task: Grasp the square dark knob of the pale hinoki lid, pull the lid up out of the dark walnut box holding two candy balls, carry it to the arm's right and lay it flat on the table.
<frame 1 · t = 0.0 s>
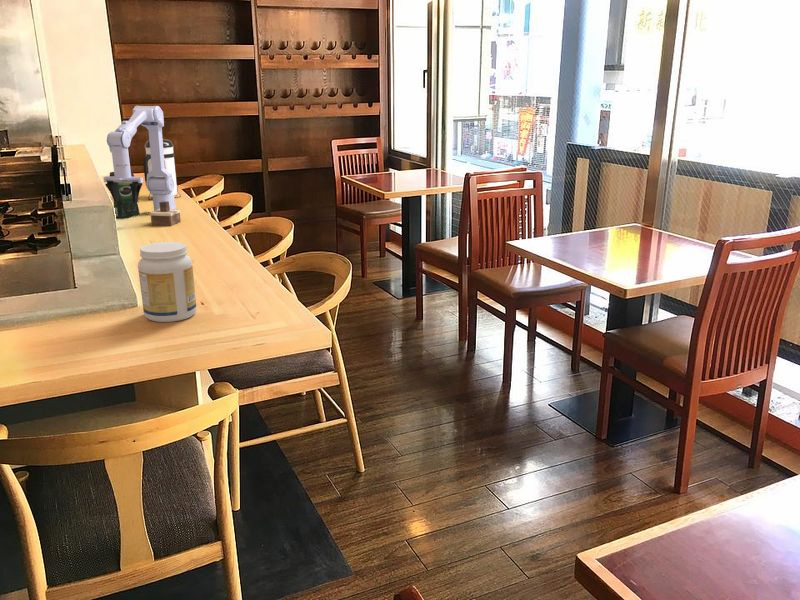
hand: (126, 201, 253), 10 cm above the counter, tool pointing down, fingers open, 7 cm apart
lid: (165, 213, 260), point 4 cm above the counter, touching box
amber ball: (168, 222, 263), point 1 cm above the counter, touching box
sage ball: (164, 224, 260), point 1 cm above the counter, touching box
box: (166, 225, 262), on the counter
coffee press: (163, 199, 319), on the counter
coffee jar: (127, 216, 278), on the counter
supplement tub: (171, 315, 163), on the counter
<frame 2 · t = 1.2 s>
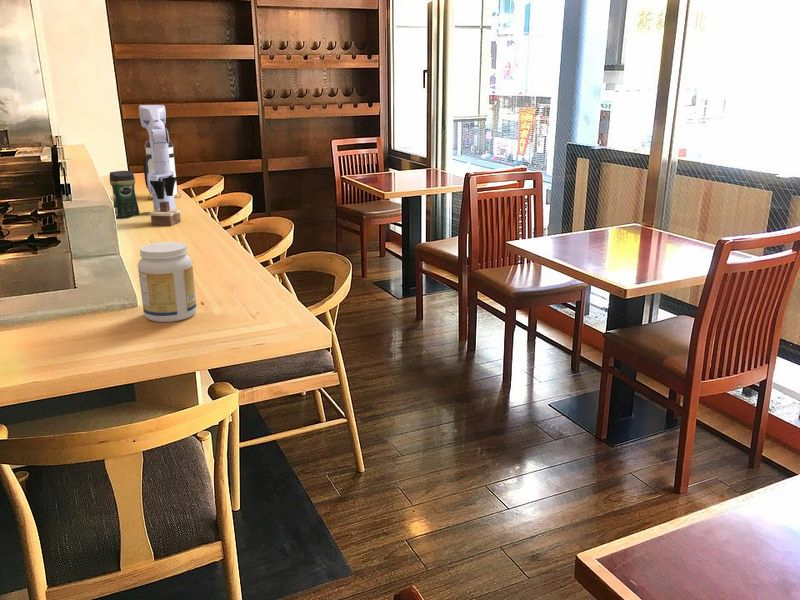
hand: (165, 197, 260), 11 cm above the counter, tool pointing down, fingers open, 7 cm apart
nothing on the counter moved.
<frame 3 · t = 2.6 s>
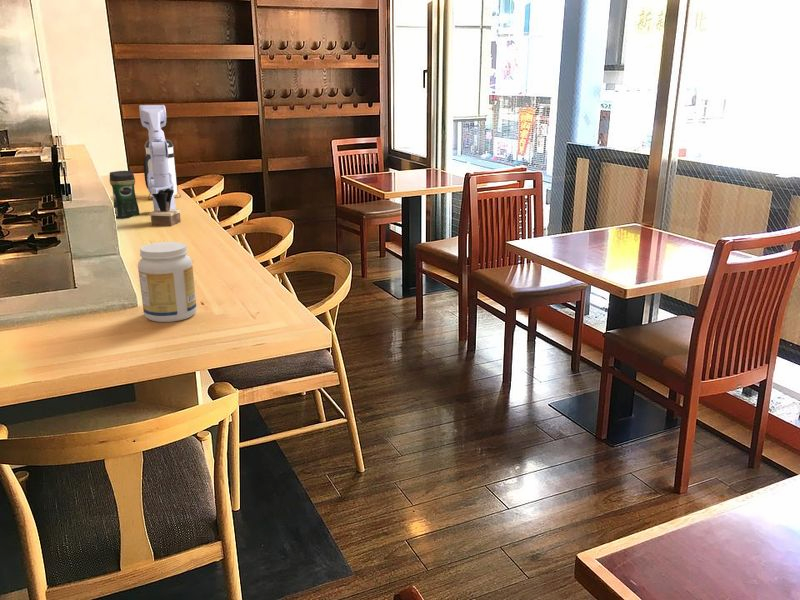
hand: (165, 209, 260), 6 cm above the counter, tool pointing down, fingers closed on lid, 3 cm apart
lid: (165, 213, 260), point 4 cm above the counter, touching box, gripper
everything else where it was.
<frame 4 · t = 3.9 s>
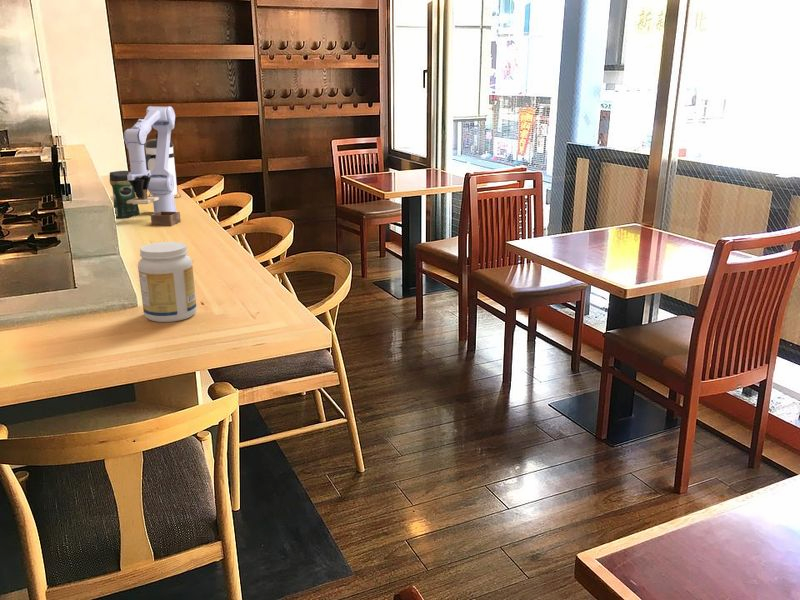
hand: (141, 196, 263), 10 cm above the counter, tool pointing down, fingers closed on lid, 3 cm apart
lid: (143, 201, 263), point 8 cm above the counter, touching gripper
everything else where it was.
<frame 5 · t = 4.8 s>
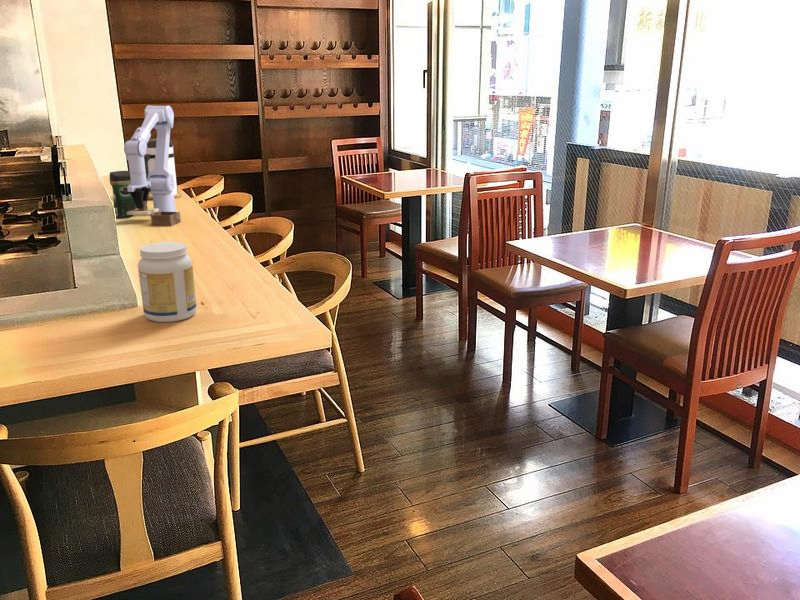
hand: (141, 207, 264), 6 cm above the counter, tool pointing down, fingers closed on lid, 3 cm apart
lid: (143, 212, 265), point 4 cm above the counter, touching gripper
everything else where it was.
when the fingers open (4 cm above the counter, at t = 5.5 s): lid drops 1 cm, on the counter.
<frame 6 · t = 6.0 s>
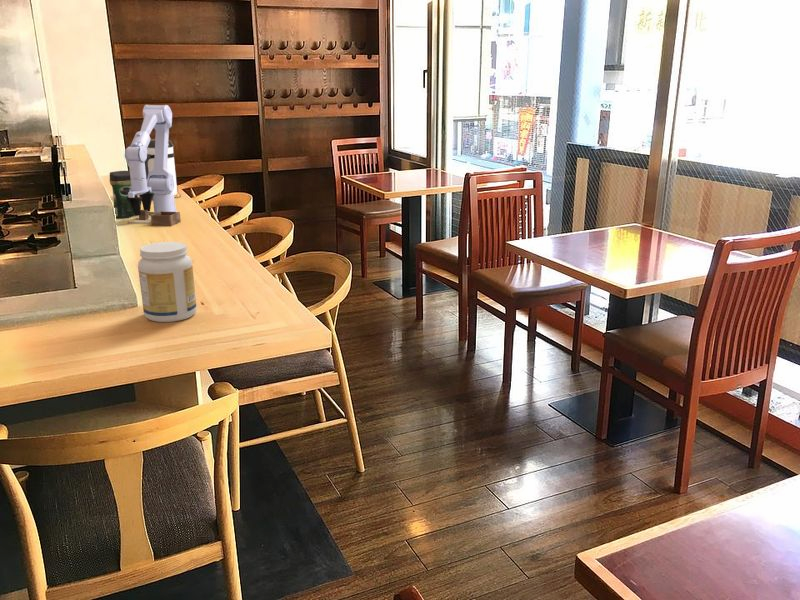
hand: (142, 213, 265), 4 cm above the counter, tool pointing down, fingers open, 7 cm apart
lid: (144, 221, 266), on the counter
everything else where it was.
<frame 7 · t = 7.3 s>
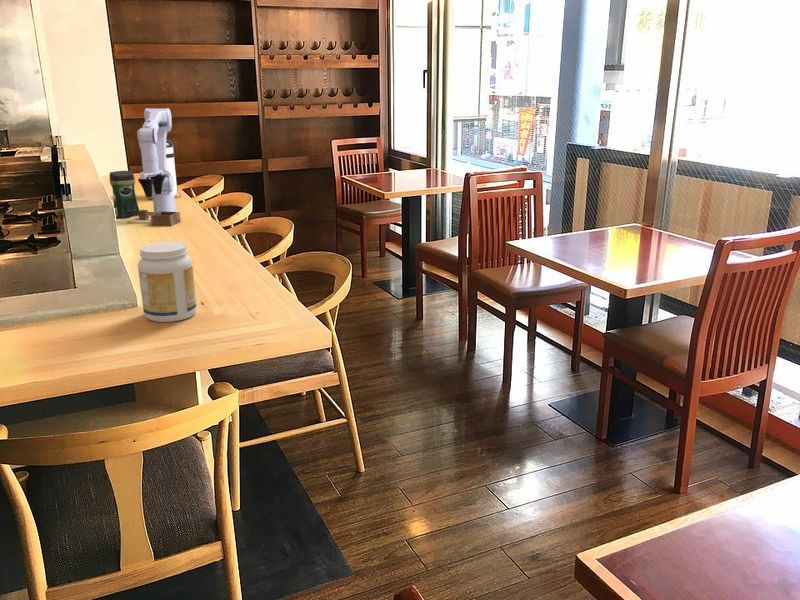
hand: (153, 195, 265), 10 cm above the counter, tool pointing down, fingers open, 7 cm apart
nothing on the counter moved.
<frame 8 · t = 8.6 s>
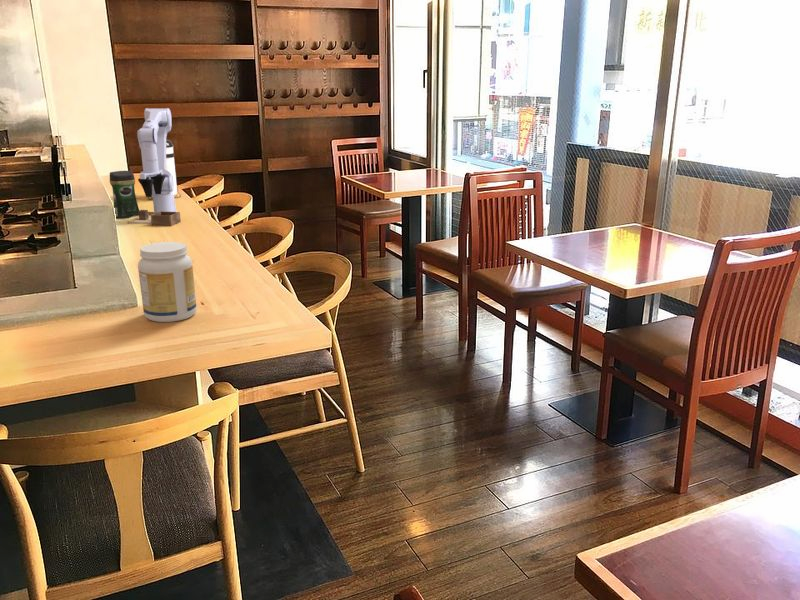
hand: (153, 195, 265), 10 cm above the counter, tool pointing down, fingers open, 7 cm apart
nothing on the counter moved.
at the end: lid inside the target area (0.3 cm from its centre), on the counter; lid tilted 0°; the gripper is holding nothing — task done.
